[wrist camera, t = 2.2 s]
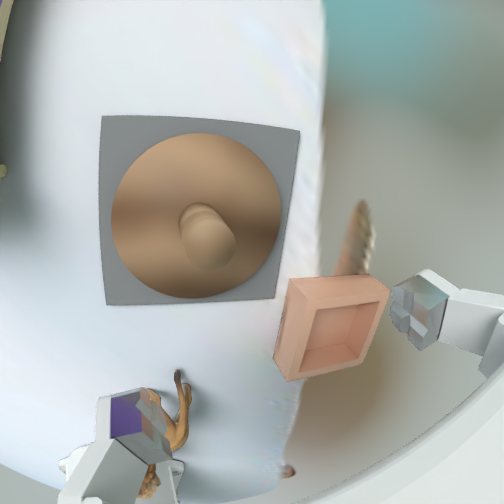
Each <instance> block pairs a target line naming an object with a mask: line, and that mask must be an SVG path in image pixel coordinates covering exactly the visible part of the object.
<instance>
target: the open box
mask: <svg viewBox="0 0 504 504" xmlns="http://www.w3.org/2000/svg"><path fill="white" fill-rule="evenodd" d="M389 294H390V290H389V289H388V288H387V287H385V286H384V285H383V284H381V283H380V282H379V281H377V280H376V279H375V278H374V277H372V276H371V275H370V274H360V275H345V276H330V277H314V278H297V279H289V284H288V289H287V294H286V299H285V304H284V309H283V313H282V318H281V323H280V328H279V333H278V337H277V342H276V347H275V351H274V356H273V359H274V360H275V362H276V364H277V366H278V367H279V369H280V371H281V373H282V374H283V376H284V378H285V380H286V381H287V382H288V381H293V380H298V379H303V378H308V377H312V376H316V375H321V374H325V373H329V372H333V371H337V370H341V369H345V368H349V367H353V366H356V365H360V364H362V363H363V361H364V359H365V357H366V354H367V352H368V349H369V347H370V345H371V342H372V339H373V337H374V335H375V332H376V330H377V327H378V325H379V322H380V319H381V317H382V314H383V311H384V308H385V306H386V303H387V300H388V297H389Z"/></svg>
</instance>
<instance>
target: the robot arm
mask: <svg viewBox="0 0 504 504" xmlns="http://www.w3.org/2000/svg"><path fill="white" fill-rule="evenodd" d="M391 298H392V299H393V300H394V301H393V303H392V305H391V307H390V317H391V320H392V323H393V324H394V326H395V327H396V328H397V329H398V330H399V331H400V332H403V333H406V334H408V340H409V341H410V342H411V343H412V344H413V345H414V346H415V347H416V348H417V349H418V350H419V351H421V350H423V349H424V348H426V347H428V346H429V345H431V344H432V343H434V342H435V341H437V340H438V341H440V342H443V343H446V344H448V345H451V346H454V347H457V348H460V349H463V350H466V351H469V352H472V353H475V354H478V355H481V356H483V358H482V360H481V362H480V364H479V371H480V372H481V373H482V374H483V375H484V376H485V377H486V378H487V380H486V381H485V382H484V383H483V384H482V385H481V386H479V387H478V388H477V389H476V390H475V391H474V392H473V393H472V394H471V395H470V396H469V397H467V398H466V399H465V400H464V401H463V402H462V403H461V404H460V405H458V406H457V407H456V408H455V409H453V410H452V411H451V412H450V413H449V414H447V415H446V416H445V417H444V418H442V419H441V420H440V421H438V422H437V423H436V424H435V425H433V426H432V427H431V428H429V429H428V430H427V431H425V432H424V433H422V434H421V435H420V436H418V437H417V438H415V439H414V440H412V441H411V442H409V443H408V444H407V445H405V446H403V447H402V448H401V449H399V450H397V451H396V452H394V453H393V454H391V455H389V456H388V457H386V458H384V459H383V460H381V461H379V462H378V463H376V464H374V465H373V466H371V467H369V468H367V469H365V470H363V471H362V472H360V473H358V474H356V475H354V476H352V477H350V478H348V479H346V480H344V481H342V482H340V483H338V484H336V485H334V486H332V487H330V488H327V489H325V490H323V491H321V492H319V493H316V494H314V495H311V496H309V497H307V498H304V499H302V500H299V501H297V502H294V503H291V504H504V295H500V294H494V293H487V292H482V291H476V290H470V289H464V288H462V289H461V290H459V289H458V288H456V287H455V286H454V285H452V284H451V283H449V282H448V281H446V280H445V279H443V278H441V277H440V276H439V275H437V274H436V273H434V272H433V271H431V270H429V269H425V270H423V271H421V272H419V273H417V274H416V275H414V276H412V277H410V278H408V279H407V280H405V281H403V282H401V283H399V284H398V285H396V286H394V287H393V288H392V290H391ZM167 430H168V428H167V422H166V419H165V416H164V413H163V411H162V410H161V408H160V406H159V405H158V404H157V402H154V401H151V400H150V394H149V393H148V391H147V390H146V389H145V388H142V387H141V388H137V389H133V390H129V391H125V392H121V393H116V394H113V395H109V396H104V397H100V398H99V399H98V401H97V406H96V424H95V442H91V443H90V445H87V446H83V447H80V448H77V449H76V450H74V451H73V452H72V453H71V454H70V456H69V457H68V458H65V459H62V460H59V461H58V467H59V469H60V470H61V471H62V472H64V473H65V474H66V475H67V482H66V484H65V486H64V487H63V489H62V491H61V492H60V494H59V496H58V504H180V501H178V500H177V497H176V494H177V488H178V485H179V482H180V480H181V477H182V474H183V471H184V464H183V463H182V462H180V461H175V460H171V459H173V458H172V452H171V446H170V441H169V440H168V439H167V438H166V437H165V436H164V435H165V434H166V432H167ZM154 463H156V471H155V472H156V474H157V476H158V477H159V478H160V482H161V485H159V486H157V488H158V489H157V490H156V492H155V493H153V494H152V496H151V498H138V497H137V496H138V493H139V490H140V488H141V485H142V482H143V480H144V477H145V474H146V472H147V469H148V467H149V466H148V465H150V464H154Z"/></svg>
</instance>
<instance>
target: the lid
mask: <svg viewBox="0 0 504 504" xmlns="http://www.w3.org/2000/svg"><path fill="white" fill-rule="evenodd" d="M280 221H281V202H280V196H279V191H278V188H277V185H276V182H275V180H274V178H273V176H272V174H271V172H270V171H269V169H268V168H267V166H266V165H265V163H264V162H263V161H262V160H261V159H260V158H259V157H258V156H257V155H256V154H255V153H254V152H253V151H251V150H250V149H249V148H247V147H246V146H244V145H243V144H241V143H239V142H237V141H235V140H232V139H230V138H227V137H223V136H220V135H215V134H207V133H189V134H182V135H178V136H174V137H171V138H168V139H166V140H164V141H161V142H159V143H157V144H156V145H154V146H152V147H151V148H149V149H148V150H146V151H145V152H144V153H143V154H142V155H140V156H139V157H138V158H137V159H136V160H135V162H134V163H133V164H132V165H131V166H130V167H129V169H128V170H127V172H126V173H125V175H124V176H123V178H122V180H121V182H120V184H119V186H118V188H117V191H116V194H115V197H114V200H113V206H112V211H111V228H112V236H113V240H114V244H115V247H116V249H117V251H118V254H119V256H120V258H121V259H122V261H123V263H124V264H125V266H126V267H127V268H128V270H129V271H130V272H131V273H132V274H133V275H134V276H135V277H136V278H137V279H138V280H139V281H141V282H142V283H143V284H145V285H146V286H148V287H149V288H151V289H153V290H155V291H157V292H160V293H162V294H165V295H168V296H172V297H177V298H185V299H197V298H206V297H210V296H215V295H218V294H221V293H224V292H226V291H228V290H230V289H233V288H235V287H236V286H238V285H239V284H241V283H243V282H244V281H245V280H247V279H248V278H249V277H250V276H252V275H253V274H254V273H255V272H256V271H257V270H258V269H259V267H260V266H261V265H262V264H263V263H264V261H265V260H266V258H267V257H268V255H269V254H270V252H271V250H272V248H273V246H274V244H275V241H276V238H277V235H278V232H279V227H280Z"/></svg>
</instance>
